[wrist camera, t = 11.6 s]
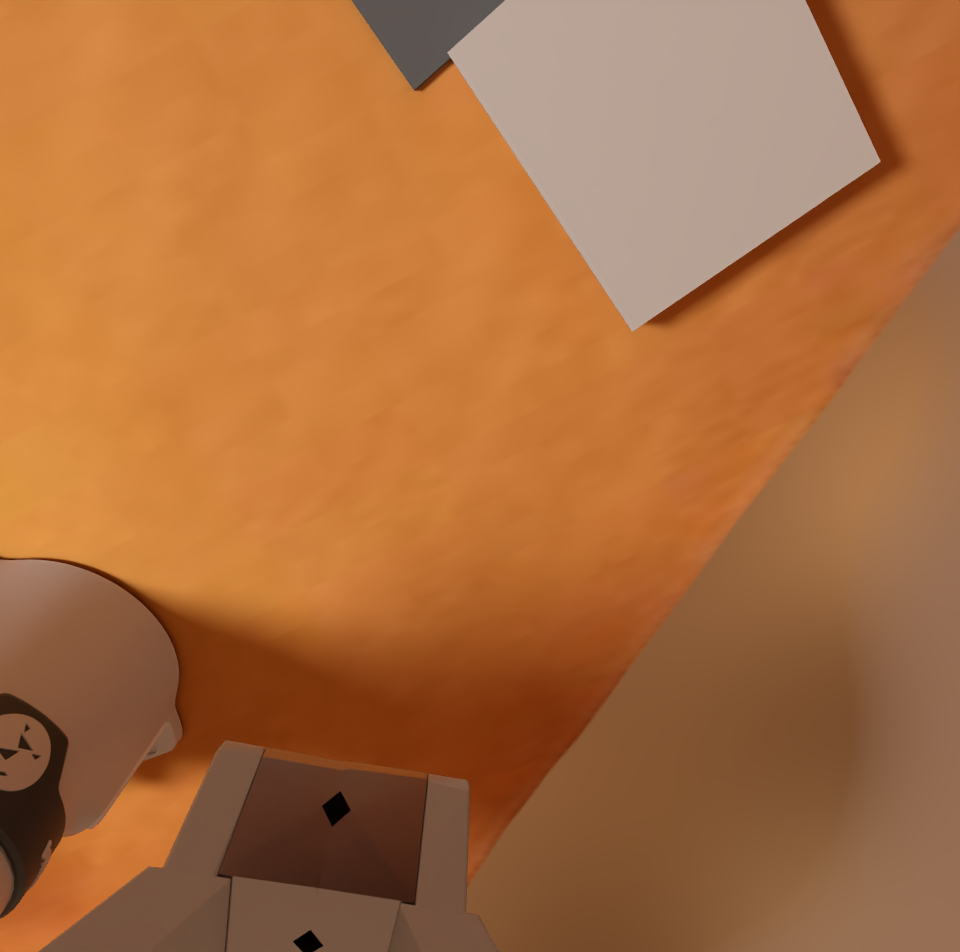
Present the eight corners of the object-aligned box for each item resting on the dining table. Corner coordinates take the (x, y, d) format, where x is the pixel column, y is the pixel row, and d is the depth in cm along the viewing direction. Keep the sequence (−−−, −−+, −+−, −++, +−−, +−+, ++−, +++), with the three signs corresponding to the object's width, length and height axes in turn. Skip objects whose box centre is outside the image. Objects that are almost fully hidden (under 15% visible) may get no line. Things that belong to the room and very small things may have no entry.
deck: (625, 321, 34) (632, 331, 32) (451, 58, 29) (447, 52, 27) (858, 160, 30) (880, 161, 29) (701, -167, 26) (716, -191, 24)
